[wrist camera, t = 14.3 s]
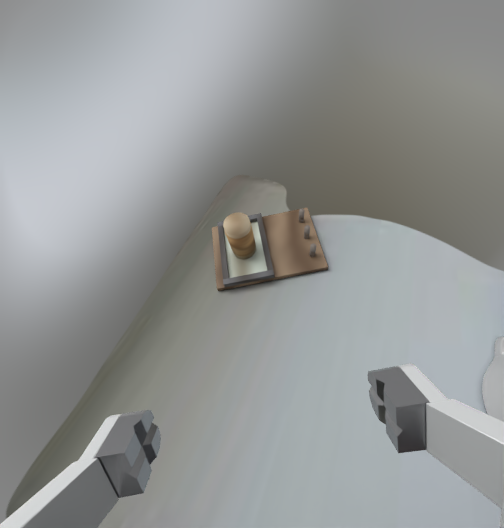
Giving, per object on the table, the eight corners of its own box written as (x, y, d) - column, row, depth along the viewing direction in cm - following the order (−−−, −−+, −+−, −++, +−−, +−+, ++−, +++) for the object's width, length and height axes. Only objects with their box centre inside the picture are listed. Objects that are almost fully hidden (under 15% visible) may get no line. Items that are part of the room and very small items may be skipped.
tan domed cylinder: (254, 237, 47) (248, 209, 40) (258, 257, 45) (252, 231, 38) (231, 241, 47) (221, 215, 40) (234, 261, 45) (223, 237, 38)
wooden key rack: (306, 210, 50) (308, 196, 46) (327, 269, 43) (330, 258, 39) (213, 230, 51) (207, 218, 47) (218, 290, 44) (212, 281, 40)
